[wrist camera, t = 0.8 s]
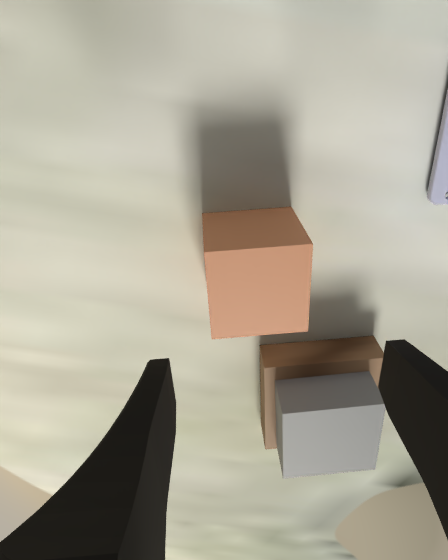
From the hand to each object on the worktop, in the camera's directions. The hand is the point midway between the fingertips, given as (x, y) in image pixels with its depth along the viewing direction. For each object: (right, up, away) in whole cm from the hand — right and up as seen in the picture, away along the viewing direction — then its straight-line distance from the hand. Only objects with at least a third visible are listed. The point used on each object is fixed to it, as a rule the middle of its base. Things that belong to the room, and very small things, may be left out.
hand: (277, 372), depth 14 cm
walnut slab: (+4, -3, +14) cm, 15 cm away
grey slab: (+4, -5, +12) cm, 13 cm away
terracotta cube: (-1, +5, +8) cm, 10 cm away
